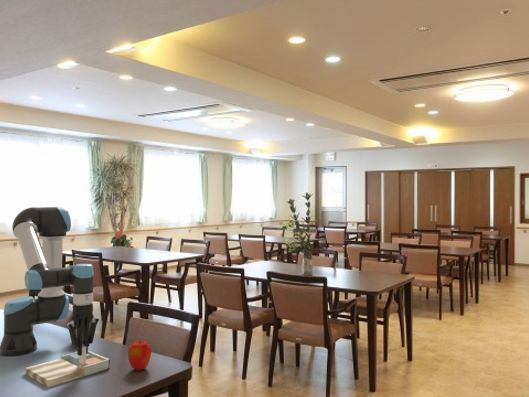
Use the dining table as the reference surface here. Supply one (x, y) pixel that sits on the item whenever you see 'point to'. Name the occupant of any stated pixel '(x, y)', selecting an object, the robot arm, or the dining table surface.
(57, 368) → the light wooden slatted rack
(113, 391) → the dining table surface
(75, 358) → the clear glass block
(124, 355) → the dining table surface
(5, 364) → the dining table surface
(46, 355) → the dining table surface
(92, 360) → the tile terracotta
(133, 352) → the apple
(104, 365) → the box
